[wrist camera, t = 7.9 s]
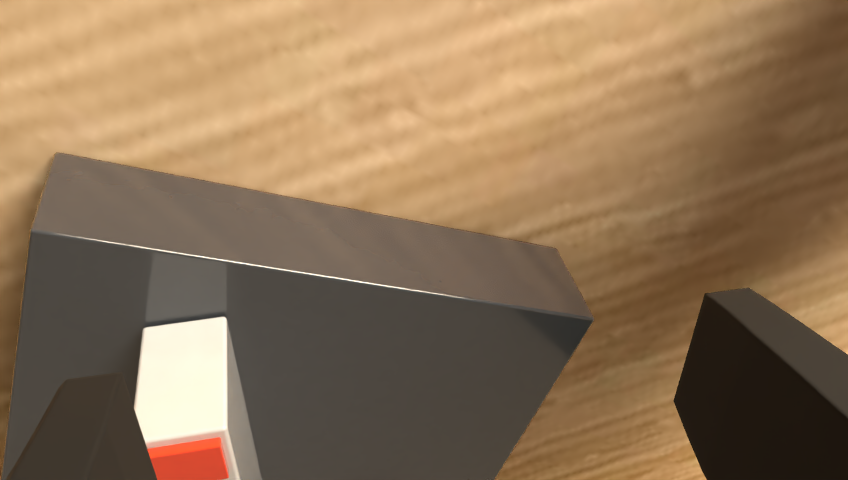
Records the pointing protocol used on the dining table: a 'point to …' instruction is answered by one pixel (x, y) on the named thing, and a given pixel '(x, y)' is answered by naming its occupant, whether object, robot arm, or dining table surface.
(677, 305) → the dining table surface
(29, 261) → the tap deck
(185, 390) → the tap lever
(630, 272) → the dining table surface
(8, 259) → the dining table surface
